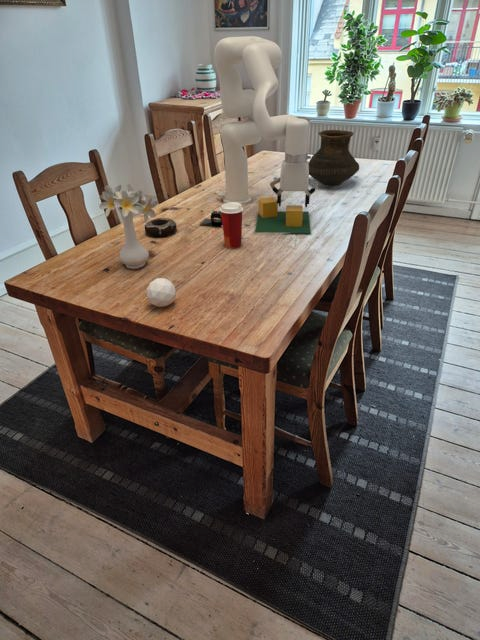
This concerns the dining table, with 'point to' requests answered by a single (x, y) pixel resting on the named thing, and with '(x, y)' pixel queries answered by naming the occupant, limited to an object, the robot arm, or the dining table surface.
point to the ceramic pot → (333, 158)
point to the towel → (281, 225)
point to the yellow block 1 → (268, 207)
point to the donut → (160, 227)
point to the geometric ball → (161, 292)
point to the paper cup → (232, 224)
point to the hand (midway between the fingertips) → (292, 205)
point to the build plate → (213, 220)
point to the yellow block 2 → (294, 215)
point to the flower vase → (129, 221)
